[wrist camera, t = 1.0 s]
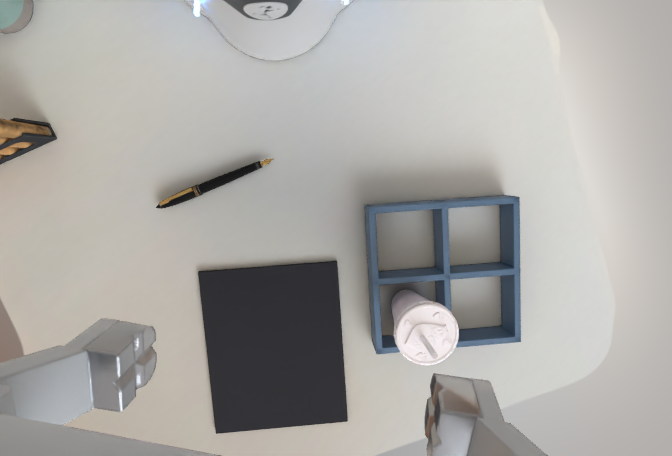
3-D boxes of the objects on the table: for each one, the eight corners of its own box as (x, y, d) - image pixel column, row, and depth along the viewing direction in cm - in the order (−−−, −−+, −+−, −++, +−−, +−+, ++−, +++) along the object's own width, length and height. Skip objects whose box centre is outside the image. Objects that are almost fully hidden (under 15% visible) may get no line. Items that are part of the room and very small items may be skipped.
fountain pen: (273, 153, 48) (271, 153, 47) (277, 163, 48) (276, 163, 47) (155, 202, 48) (150, 203, 47) (160, 212, 48) (155, 213, 47)
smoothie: (372, 289, 51) (394, 333, 37) (422, 271, 51) (464, 307, 37) (390, 337, 52) (418, 398, 38) (439, 319, 52) (485, 373, 38)
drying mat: (199, 271, 49) (198, 272, 49) (336, 260, 50) (337, 261, 50) (216, 431, 52) (215, 433, 51) (347, 419, 53) (347, 421, 52)
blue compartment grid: (364, 204, 49) (368, 207, 46) (505, 195, 50) (519, 196, 47) (372, 342, 52) (376, 354, 48) (507, 330, 52) (521, 342, 49)
